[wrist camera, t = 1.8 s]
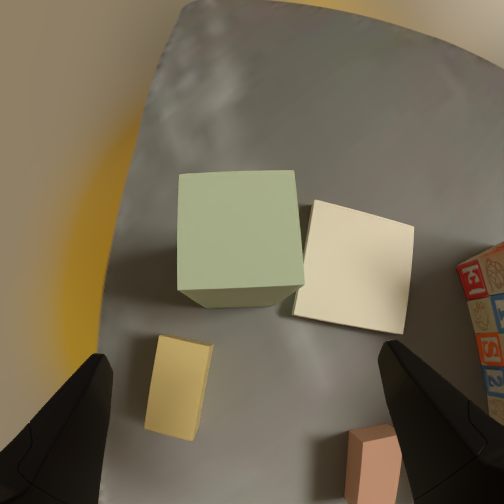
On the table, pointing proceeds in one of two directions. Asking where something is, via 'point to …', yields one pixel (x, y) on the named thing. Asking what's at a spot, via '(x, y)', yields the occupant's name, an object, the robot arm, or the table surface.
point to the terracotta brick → (372, 465)
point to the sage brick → (238, 238)
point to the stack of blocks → (488, 319)
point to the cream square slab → (355, 269)
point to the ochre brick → (178, 386)
